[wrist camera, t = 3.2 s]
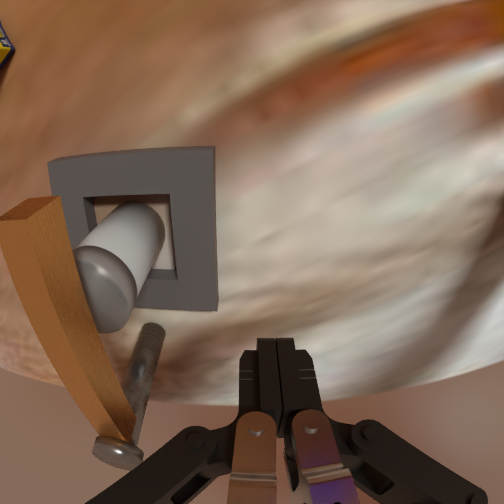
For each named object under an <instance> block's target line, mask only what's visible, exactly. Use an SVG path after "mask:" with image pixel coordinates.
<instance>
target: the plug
mask: <svg viewBox="0 0 504 504" xmlns="http://www.w3.org/2000/svg"><path fill="white" fill-rule="evenodd" d="M164 241H165V226H164V223H163V221H162V219H161V217H160V216H159V214H158V213H157V212H156V211H155V210H154V209H153V208H151V207H150V206H148V205H146V204H144V203H141V202H137V201H129V202H124V203H122V204H120V205H118V206H117V207H116V208H115V209H114V210H113V211H112V212H111V213H110V214H109V215H108V216H106V217H105V218H104V219H103V220H102V221H101V222H100V223H99V224H98V225H97V226H96V227H95V228H94V229H93V230H92V231H91V232H90V233H89V234H88V236H87V237H86V238H85V239H84V240H83V241H82V242H81V243H80V244H79V245H78V246H77V247H76V248H75V249H74V250H73V251H72V252H73V256H74V260H75V263H76V267H77V271H78V274H79V278H80V281H81V284H82V287H83V291H84V294H85V297H86V300H87V303H88V306H89V309H90V312H91V315H92V318H93V321H94V323H95V326H96V329H97V331H98V333H112V332H115V331H118V330H120V329H121V328H122V327H123V326H124V325H125V324H126V322H127V320H128V318H129V316H130V314H131V311H132V309H133V307H134V305H135V303H136V300H137V297H138V294H139V292H140V290H141V288H142V286H143V284H144V282H145V280H146V278H147V276H148V274H149V272H150V270H151V268H152V266H153V264H154V262H155V260H156V258H157V256H158V254H159V252H160V250H161V248H162V246H163V244H164Z"/></svg>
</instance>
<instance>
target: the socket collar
mask: <svg viewBox="0 0 504 504" xmlns="http://www.w3.org/2000/svg"><path fill="white" fill-rule="evenodd" d="M47 164H48V171H49V178H50V185H51V191H52V196H61V202H62V207H63V212H64V217H65V222H66V227H67V231H68V236H69V240H70V244H71V248H72V251H73V250H74V249H75V248H76V247H77V246H78V245H79V244H80V243H81V242H82V241H83V240H84V239H85V238H86V237H87V236H88V234H89V233H90V232H91V231H92V230H93V229H94V228H95V227H96V226H97V222H96V217H95V211H94V205H93V198H92V197H94V196H114V195H141V194H170V205H171V218H172V229H173V240H174V250H175V260H176V268H177V270H162V269H151V270H150V272H149V274H148V276H147V278H146V280H145V282H144V284H143V286H142V288H141V290H140V292H139V294H138V297H137V300H136V303H135V305H134V307H140V308H156V309H174V310H195V311H217V310H218V302H219V297H218V272H217V241H216V194H215V146H192V147H165V148H148V149H133V150H121V151H111V152H101V153H92V154H84V155H76V156H69V157H62V158H57V159H54V160H52V161H50V162H48V163H47Z"/></svg>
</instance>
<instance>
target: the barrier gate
mask: <svg viewBox="0 0 504 504" xmlns="http://www.w3.org/2000/svg"><path fill="white" fill-rule="evenodd" d="M0 245H1V248H2V251H3V254H4V258H5V260H6V263H7V266H8V269H9V272H10V275H11V277H12V280H13V283H14V285H15V288H16V290H17V293H18V295H19V298H20V300H21V302H22V305H23V307H24V309H25V312H26V314H27V316H28V318H29V320H30V323H31V325H32V327H33V329H34V331H35V333H36V335H37V337H38V339H39V341H40V343H41V345H42V347H43V348H44V350H45V352H46V354H47V356H48V358H49V359H50V361H51V363H52V365H53V367H54V368H55V370H56V372H57V373H58V375H59V377H60V378H61V380H62V382H63V383H64V385H65V386H66V388H67V390H68V391H69V393H70V394H71V396H72V397H73V399H74V400H75V402H76V403H77V405H78V406H79V408H80V409H81V411H82V412H83V413H84V415H85V416H86V418H87V419H88V420H89V422H90V423H91V424H92V426H93V427H94V428H95V430H96V431H97V432H98V434H99V435H100V436H98V437H96V441H95V444H94V447H93V450H92V453H93V455H94V456H95V457H96V458H98V459H99V460H101V461H103V462H105V463H107V464H109V465H111V466H114V467H117V468H120V469H124V470H130V471H132V470H133V469H134V468H136V467H137V466H138V465H139V464H141V463H142V461H143V456H144V453H143V451H142V450H141V449H139V448H138V447H137V444H138V439H139V435H140V431H141V427H142V422H143V418H144V414H145V410H146V406H147V402H148V398H149V394H150V390H151V386H152V382H153V379H154V375H155V371H156V367H157V364H158V360H159V356H160V353H161V349H162V346H163V342H164V339H165V335H166V333H165V330H164V329H163V328H162V327H161V326H160V325H158V324H155V323H146V324H144V325H143V327H142V329H141V332H140V335H139V337H138V340H137V343H136V345H135V348H134V351H133V354H132V356H131V359H130V362H129V365H128V368H127V371H126V373H125V376H124V379H123V382H122V385H121V386H120V384H119V382H118V379H117V377H116V375H115V373H114V371H113V368H112V366H111V364H110V361H109V359H108V357H107V354H106V352H105V349H104V347H103V344H102V342H101V339H100V337H99V334H98V331H97V329H96V326H95V323H94V321H93V318H92V315H91V312H90V309H89V306H88V303H87V300H86V297H85V294H84V291H83V287H82V284H81V281H80V278H79V274H78V271H77V267H76V263H75V260H74V256H73V252H72V248H71V244H70V240H69V236H68V231H67V227H66V222H65V217H64V212H63V207H62V202H61V196H48V197H38V198H28V199H26V200H25V201H23V202H22V203H20V204H19V205H17V206H15V207H14V208H12V209H11V210H9V211H8V212H7V213H5V214H4V215H2V216H1V217H0Z"/></svg>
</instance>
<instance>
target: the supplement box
mask: <svg viewBox="0 0 504 504" xmlns="http://www.w3.org/2000/svg"><path fill="white" fill-rule="evenodd" d="M14 51H15V48H14V47H13V45H12V44H11V42H10V41H9V39H8V37H7V35H6V33H5V31H4V29H3V27H2V25H1V22H0V70H1V68H2V67H3V66H4V64H5V63H6V61H7V60H8V59H9V57H10V56H11V55H12V53H13V52H14Z"/></svg>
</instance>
